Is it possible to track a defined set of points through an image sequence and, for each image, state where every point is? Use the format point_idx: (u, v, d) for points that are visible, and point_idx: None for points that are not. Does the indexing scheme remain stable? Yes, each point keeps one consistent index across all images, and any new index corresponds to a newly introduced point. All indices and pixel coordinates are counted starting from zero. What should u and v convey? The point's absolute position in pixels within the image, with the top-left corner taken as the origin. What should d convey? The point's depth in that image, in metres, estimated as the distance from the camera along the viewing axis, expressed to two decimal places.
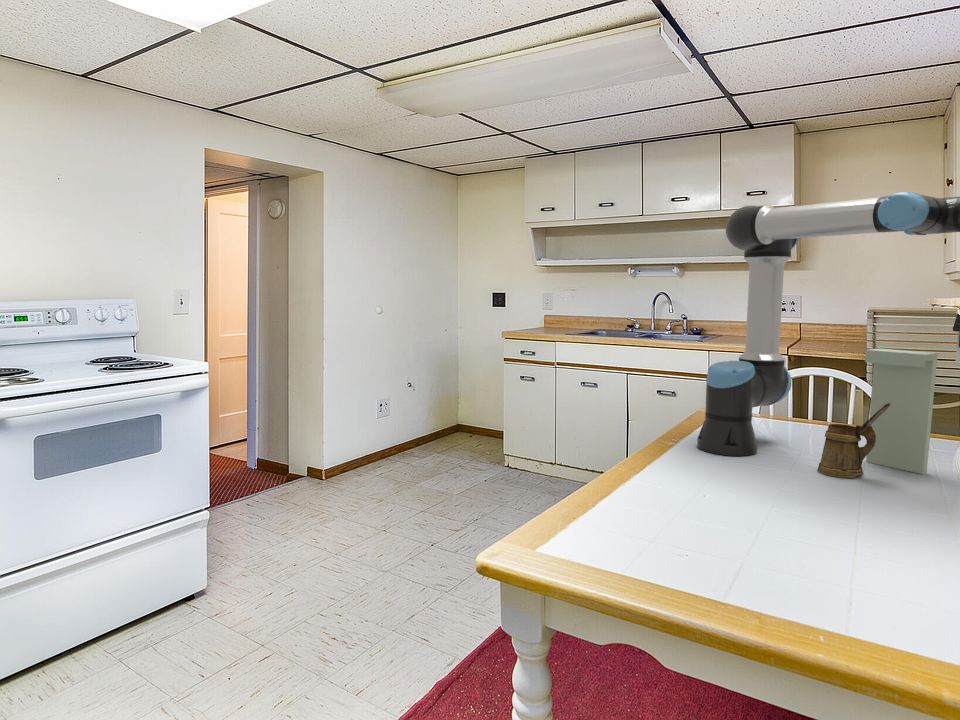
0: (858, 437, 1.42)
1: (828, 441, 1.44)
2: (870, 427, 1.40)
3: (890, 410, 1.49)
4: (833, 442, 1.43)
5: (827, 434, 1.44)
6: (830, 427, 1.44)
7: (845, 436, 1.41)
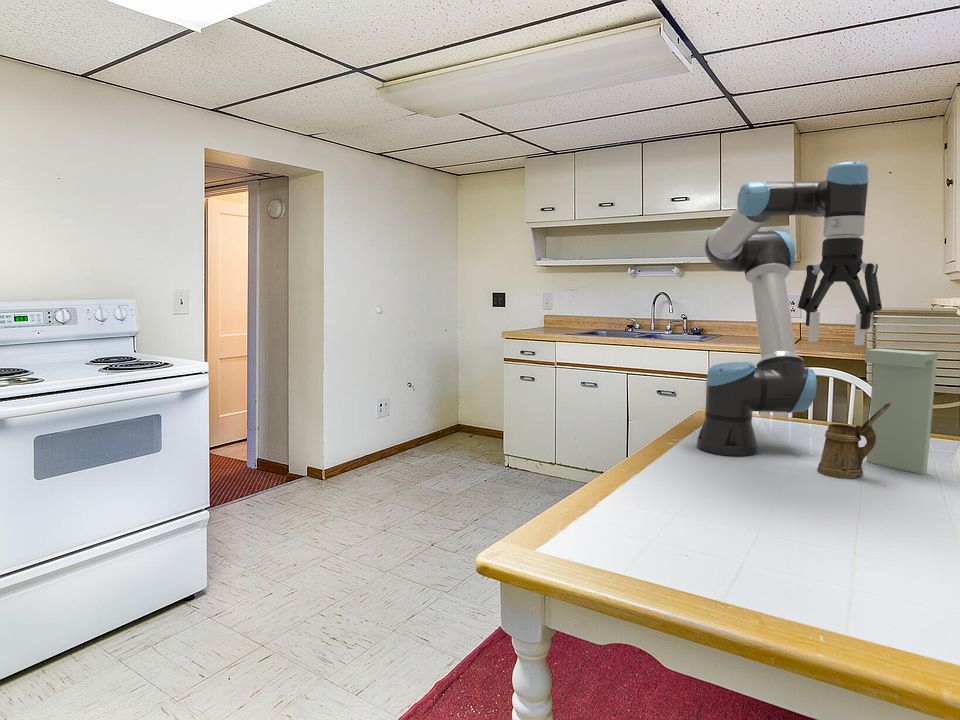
0: (858, 437, 1.42)
1: (828, 441, 1.44)
2: (870, 427, 1.40)
3: (890, 410, 1.49)
4: (833, 442, 1.43)
5: (827, 434, 1.44)
6: (830, 427, 1.44)
7: (845, 436, 1.41)
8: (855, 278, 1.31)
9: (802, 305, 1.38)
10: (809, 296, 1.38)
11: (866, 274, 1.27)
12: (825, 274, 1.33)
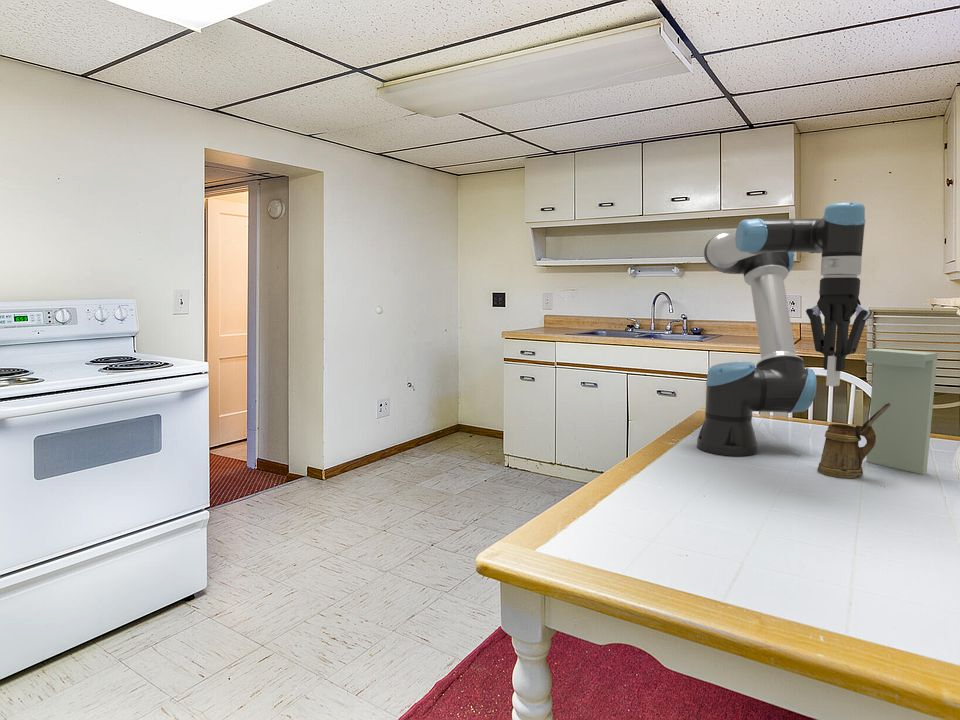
0: (858, 437, 1.42)
1: (828, 441, 1.44)
2: (870, 427, 1.40)
3: (890, 410, 1.49)
4: (833, 442, 1.43)
5: (827, 434, 1.44)
6: (830, 427, 1.44)
7: (845, 436, 1.41)
8: None
9: (819, 347, 1.36)
10: (822, 337, 1.36)
11: (857, 319, 1.29)
12: (826, 314, 1.34)
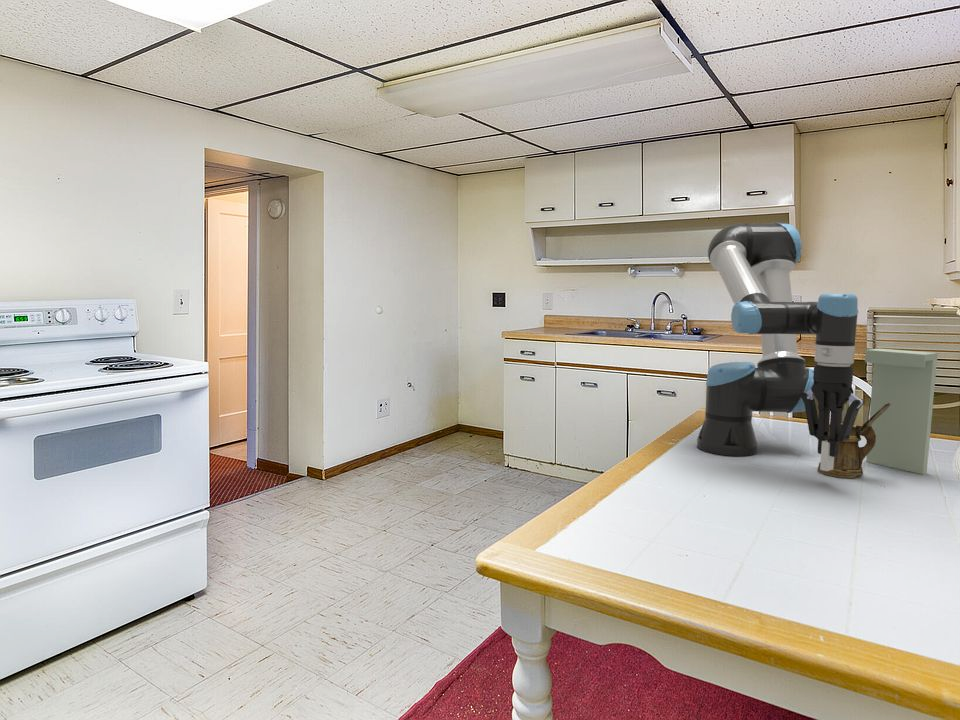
0: (858, 437, 1.42)
1: None
2: (870, 427, 1.40)
3: (890, 410, 1.49)
4: None
5: None
6: None
7: None
8: None
9: (813, 431, 1.38)
10: (816, 421, 1.39)
11: (850, 408, 1.31)
12: (819, 400, 1.36)
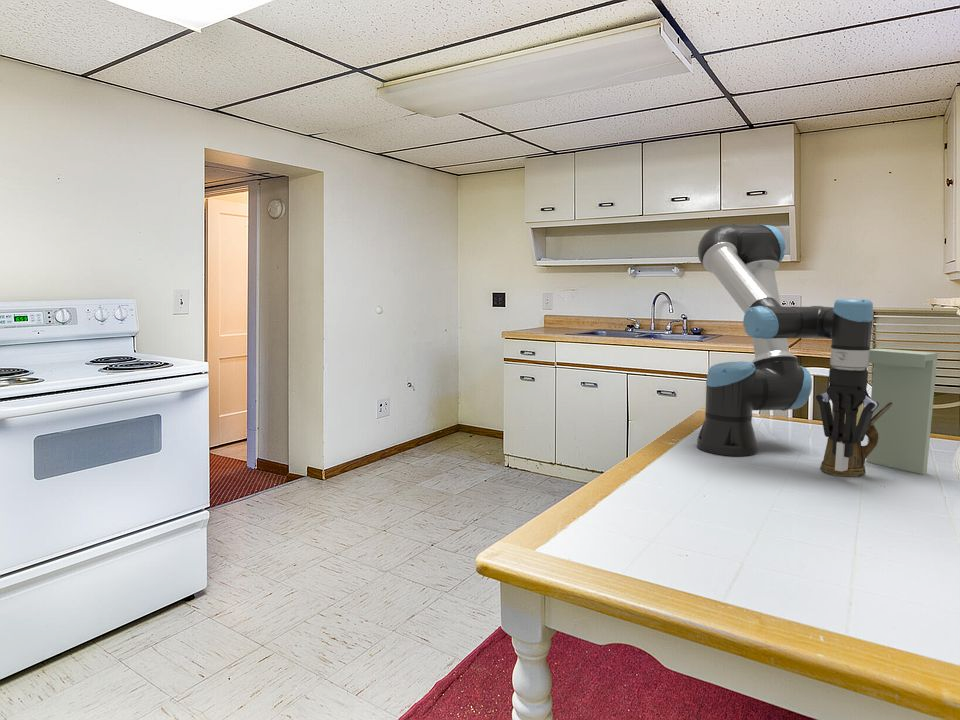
0: None
1: (831, 440, 1.45)
2: (873, 426, 1.41)
3: (890, 410, 1.49)
4: None
5: None
6: None
7: None
8: None
9: (828, 433, 1.42)
10: (831, 423, 1.43)
11: (864, 410, 1.35)
12: (835, 402, 1.40)
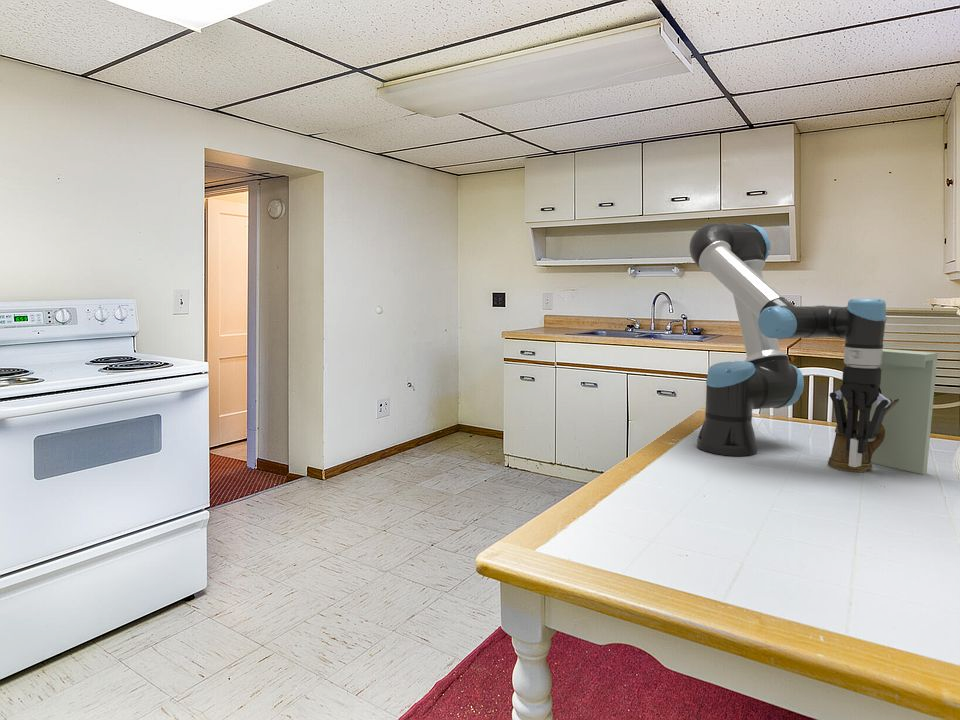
0: None
1: (839, 437, 1.48)
2: None
3: (890, 410, 1.49)
4: (844, 437, 1.47)
5: None
6: None
7: None
8: None
9: (842, 430, 1.45)
10: (844, 420, 1.46)
11: (878, 407, 1.38)
12: (848, 399, 1.43)
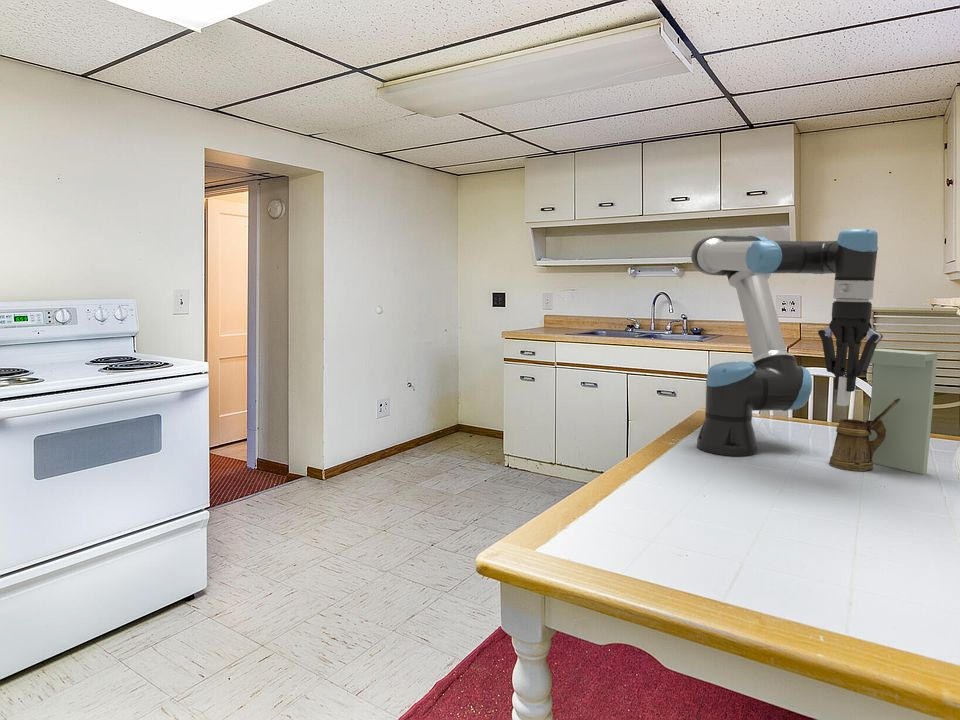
0: (869, 431, 1.47)
1: (840, 436, 1.49)
2: (881, 421, 1.46)
3: (890, 410, 1.49)
4: (846, 437, 1.48)
5: (839, 429, 1.50)
6: (842, 422, 1.49)
7: (858, 431, 1.47)
8: None
9: (830, 368, 1.40)
10: (833, 358, 1.41)
11: (868, 342, 1.33)
12: (837, 336, 1.38)
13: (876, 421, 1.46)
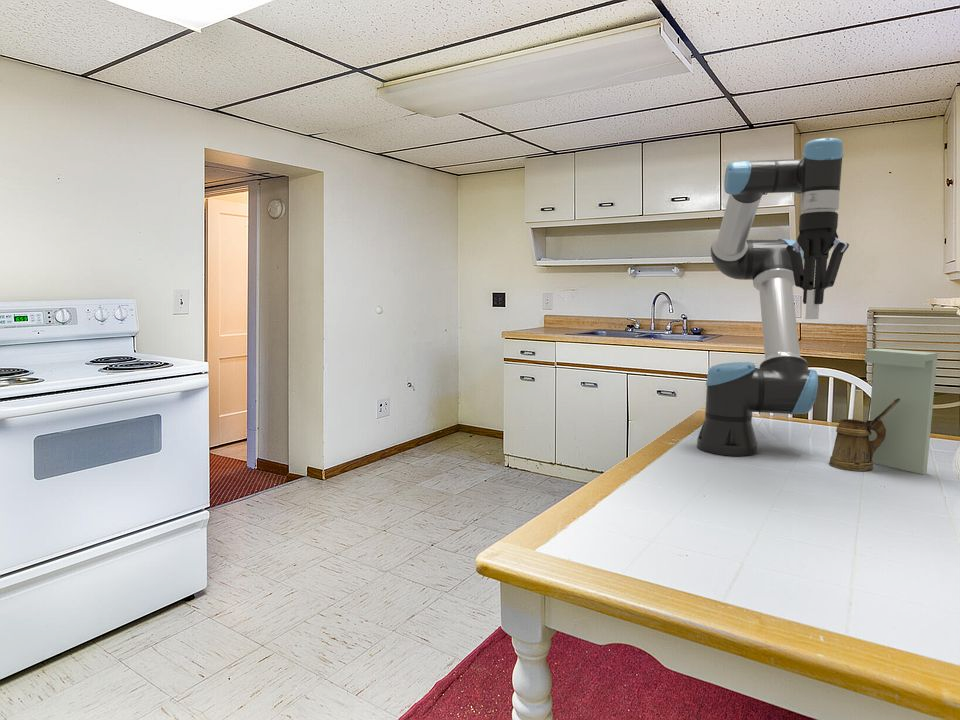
0: (869, 431, 1.47)
1: (840, 436, 1.49)
2: (880, 421, 1.46)
3: (890, 410, 1.49)
4: (846, 437, 1.48)
5: (839, 429, 1.50)
6: (842, 422, 1.49)
7: (858, 431, 1.47)
8: None
9: (799, 282, 1.40)
10: (801, 273, 1.40)
11: (834, 251, 1.33)
12: (805, 249, 1.38)
13: (876, 421, 1.46)
